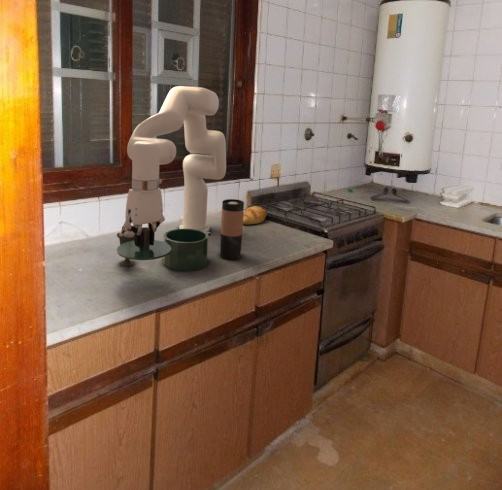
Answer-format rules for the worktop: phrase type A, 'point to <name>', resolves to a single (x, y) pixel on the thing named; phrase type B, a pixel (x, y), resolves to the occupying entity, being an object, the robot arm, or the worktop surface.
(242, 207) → the travel mug
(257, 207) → the bread loaf
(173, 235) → the pot
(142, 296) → the worktop surface
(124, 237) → the sundae
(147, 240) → the lid
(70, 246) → the worktop surface
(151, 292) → the worktop surface
